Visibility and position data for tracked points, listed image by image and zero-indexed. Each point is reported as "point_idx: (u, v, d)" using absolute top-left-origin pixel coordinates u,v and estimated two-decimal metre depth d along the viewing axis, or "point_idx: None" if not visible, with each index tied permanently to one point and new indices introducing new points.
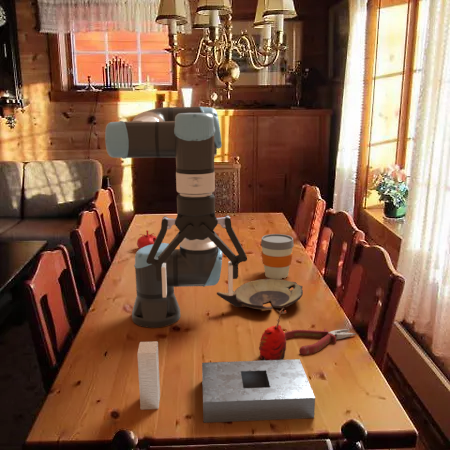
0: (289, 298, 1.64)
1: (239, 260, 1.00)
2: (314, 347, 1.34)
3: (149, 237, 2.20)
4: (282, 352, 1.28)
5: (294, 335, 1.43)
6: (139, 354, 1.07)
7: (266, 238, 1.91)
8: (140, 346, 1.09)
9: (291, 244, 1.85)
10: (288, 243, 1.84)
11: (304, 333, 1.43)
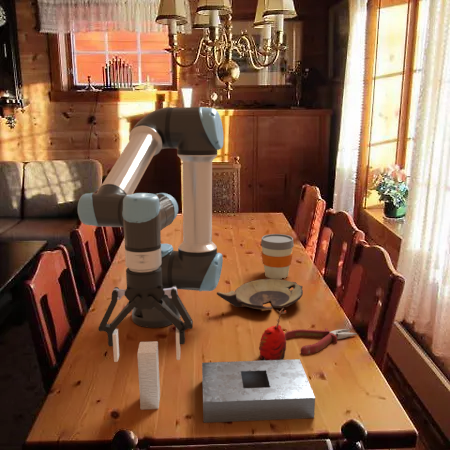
0: (289, 298, 1.64)
1: (185, 327, 1.07)
2: (315, 347, 1.34)
3: None
4: (282, 352, 1.28)
5: (295, 335, 1.43)
6: (139, 354, 1.07)
7: (266, 238, 1.91)
8: (140, 346, 1.09)
9: (291, 244, 1.85)
10: (288, 243, 1.84)
11: (305, 333, 1.43)
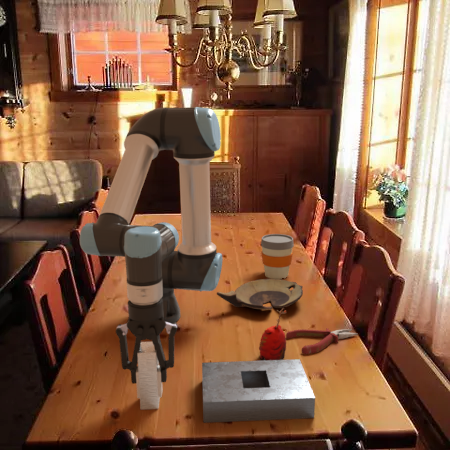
0: (289, 298, 1.64)
1: None
2: (316, 347, 1.34)
3: None
4: (282, 352, 1.28)
5: (296, 335, 1.43)
6: (139, 354, 1.07)
7: (266, 238, 1.91)
8: (140, 346, 1.09)
9: (291, 244, 1.85)
10: (288, 243, 1.84)
11: (306, 333, 1.43)
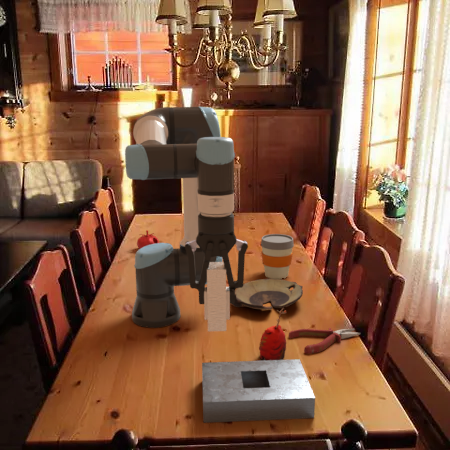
0: (289, 298, 1.64)
1: (236, 288, 1.06)
2: (319, 346, 1.34)
3: (149, 237, 2.20)
4: (282, 352, 1.28)
5: (299, 334, 1.43)
6: (209, 271, 1.02)
7: (266, 238, 1.91)
8: None
9: (291, 244, 1.85)
10: (288, 243, 1.84)
11: (309, 332, 1.43)
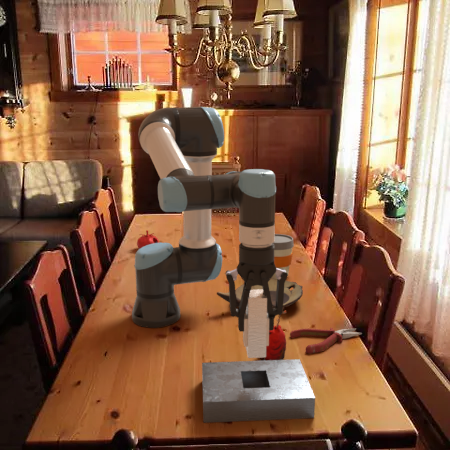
0: (289, 298, 1.64)
1: (275, 315, 1.08)
2: (320, 346, 1.34)
3: (149, 237, 2.20)
4: (282, 352, 1.28)
5: (300, 334, 1.43)
6: (250, 300, 1.05)
7: None
8: None
9: (291, 244, 1.85)
10: (288, 243, 1.84)
11: (310, 332, 1.43)
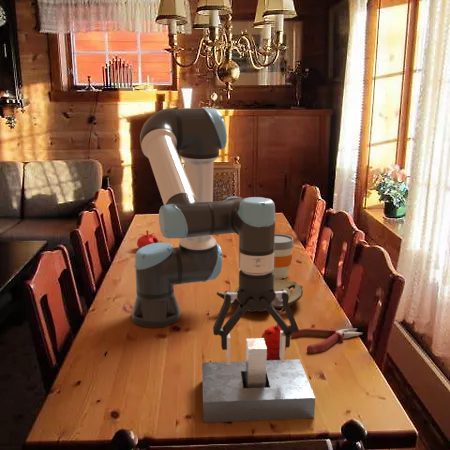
0: (289, 298, 1.64)
1: (291, 331, 1.09)
2: (322, 346, 1.34)
3: (149, 237, 2.20)
4: None
5: (301, 334, 1.43)
6: (250, 350, 1.08)
7: None
8: (249, 342, 1.11)
9: (291, 244, 1.85)
10: (288, 243, 1.84)
11: (311, 332, 1.43)
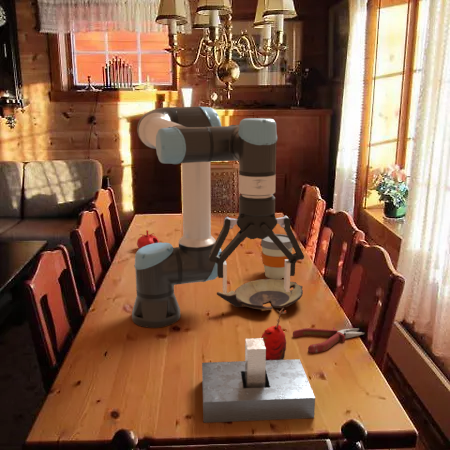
0: (289, 298, 1.64)
1: (296, 258, 1.05)
2: (323, 346, 1.34)
3: (149, 237, 2.20)
4: (282, 352, 1.28)
5: (303, 334, 1.43)
6: (249, 350, 1.08)
7: (266, 238, 1.91)
8: (247, 343, 1.11)
9: (291, 244, 1.85)
10: (288, 243, 1.84)
11: (313, 332, 1.43)
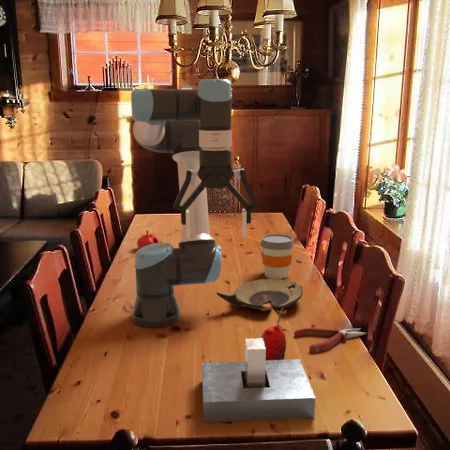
0: (289, 298, 1.64)
1: (252, 207, 1.17)
2: (324, 345, 1.34)
3: (149, 237, 2.20)
4: (282, 352, 1.28)
5: (304, 333, 1.44)
6: (249, 350, 1.08)
7: (266, 238, 1.91)
8: (247, 343, 1.11)
9: (291, 244, 1.85)
10: (288, 243, 1.84)
11: (314, 331, 1.43)
